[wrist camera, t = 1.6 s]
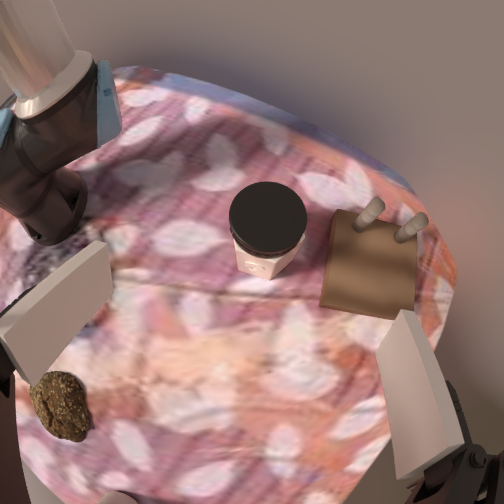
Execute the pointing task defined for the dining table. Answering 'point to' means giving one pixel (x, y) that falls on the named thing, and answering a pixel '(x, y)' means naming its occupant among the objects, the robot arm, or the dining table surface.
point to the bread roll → (60, 406)
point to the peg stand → (371, 263)
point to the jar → (266, 228)
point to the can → (116, 498)
